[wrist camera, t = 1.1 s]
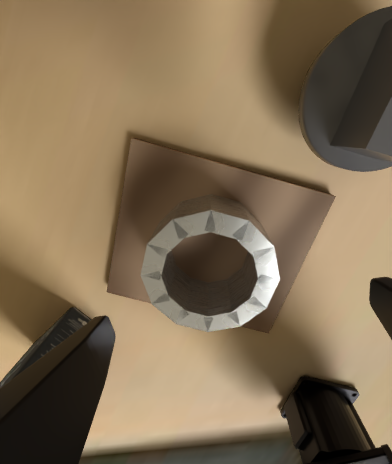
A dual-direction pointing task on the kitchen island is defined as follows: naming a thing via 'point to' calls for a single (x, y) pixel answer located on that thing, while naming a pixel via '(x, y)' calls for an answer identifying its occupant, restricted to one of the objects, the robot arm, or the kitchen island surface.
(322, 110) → the lens cap
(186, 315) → the toothed hollow cylinder
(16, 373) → the box
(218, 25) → the kitchen island surface
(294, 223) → the stand
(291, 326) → the kitchen island surface
